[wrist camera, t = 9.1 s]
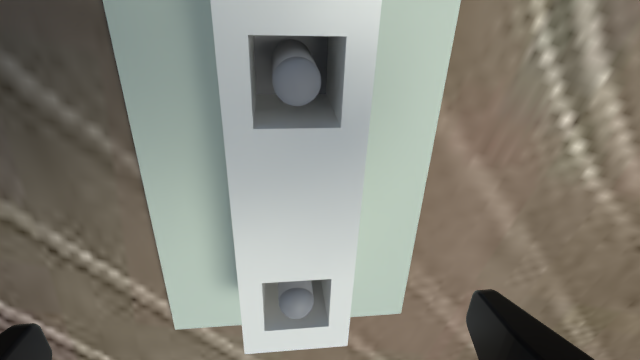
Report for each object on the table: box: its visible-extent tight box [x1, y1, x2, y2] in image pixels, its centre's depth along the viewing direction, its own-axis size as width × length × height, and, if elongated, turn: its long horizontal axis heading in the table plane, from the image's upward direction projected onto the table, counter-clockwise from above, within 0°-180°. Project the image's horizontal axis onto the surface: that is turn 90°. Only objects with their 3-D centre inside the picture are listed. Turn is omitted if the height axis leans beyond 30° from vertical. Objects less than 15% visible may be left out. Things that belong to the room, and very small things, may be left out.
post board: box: [103, 0, 461, 330], centre depth 17 cm, size 14×22×6 cm, turn 178°
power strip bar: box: [210, 0, 382, 354], centre depth 17 cm, size 5×16×4 cm, turn 178°
